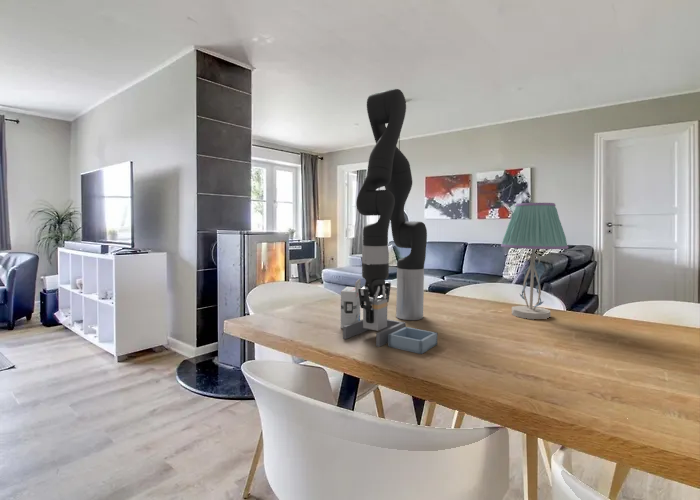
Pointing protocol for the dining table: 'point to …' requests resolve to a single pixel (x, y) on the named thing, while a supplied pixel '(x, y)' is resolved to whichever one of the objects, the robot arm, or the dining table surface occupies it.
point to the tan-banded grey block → (377, 315)
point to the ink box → (350, 304)
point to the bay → (358, 328)
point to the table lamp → (534, 246)
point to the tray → (412, 340)
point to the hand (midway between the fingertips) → (375, 320)
